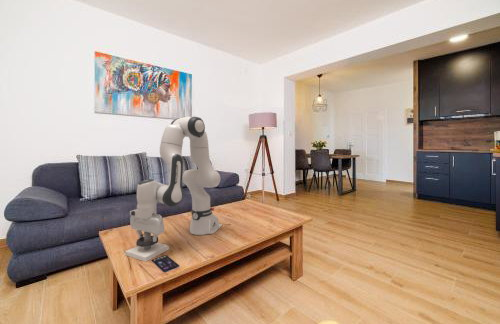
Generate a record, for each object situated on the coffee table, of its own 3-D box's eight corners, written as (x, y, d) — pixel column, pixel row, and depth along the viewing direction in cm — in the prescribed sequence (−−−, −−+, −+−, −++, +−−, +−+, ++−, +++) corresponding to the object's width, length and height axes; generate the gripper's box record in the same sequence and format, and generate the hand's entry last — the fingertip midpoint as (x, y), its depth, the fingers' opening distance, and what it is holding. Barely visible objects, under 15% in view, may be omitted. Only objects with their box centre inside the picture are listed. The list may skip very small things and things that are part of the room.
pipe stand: (149, 244, 120) (149, 225, 119) (168, 249, 114) (168, 229, 113) (125, 255, 107) (124, 234, 107) (145, 261, 101) (145, 239, 101)
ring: (148, 237, 117) (148, 234, 117) (162, 240, 113) (162, 237, 112) (132, 244, 108) (132, 241, 108) (146, 248, 104) (146, 245, 104)
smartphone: (166, 254, 108) (180, 266, 97) (166, 255, 108) (180, 267, 97) (150, 259, 103) (163, 272, 92) (150, 261, 103) (163, 274, 92)
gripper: (167, 213, 108) (167, 241, 109) (138, 208, 117) (139, 233, 117) (156, 217, 102) (157, 246, 103) (127, 211, 111) (128, 238, 112)
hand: (147, 239), depth 110 cm, fingers open, 8 cm apart
